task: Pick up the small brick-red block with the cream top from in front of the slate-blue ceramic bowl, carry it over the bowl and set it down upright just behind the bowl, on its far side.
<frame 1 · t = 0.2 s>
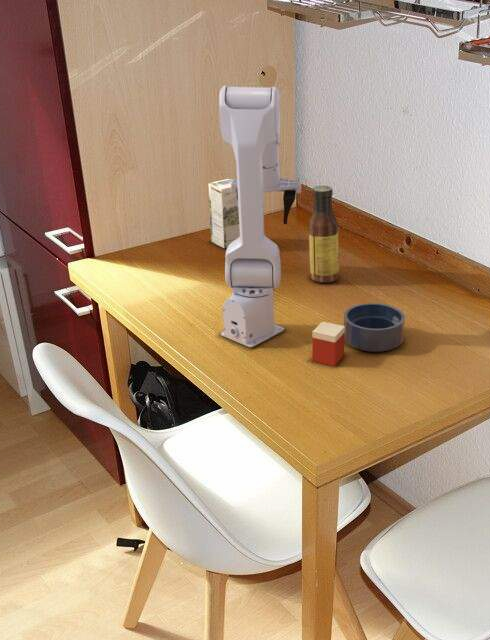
hand: (267, 221, 179), 11 cm above the table, tool pointing down, fingers open, 7 cm apart
sauce bottle: (323, 279, 180), on the table
red block: (328, 358, 149), on the table
bowl: (373, 340, 156), on the table
syrup box: (227, 244, 196), on the table
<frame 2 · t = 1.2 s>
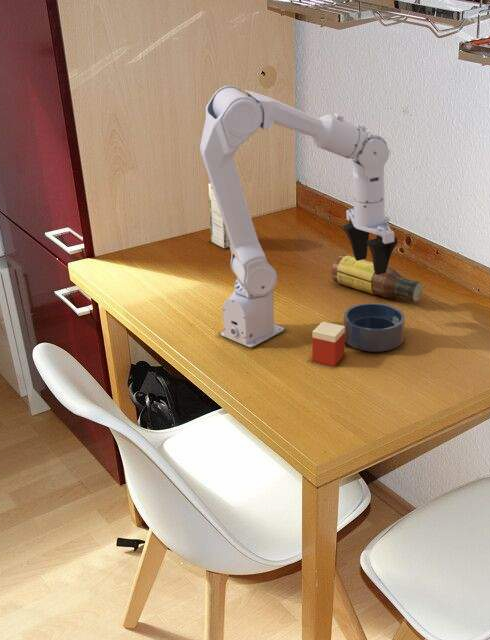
hand: (370, 266, 160), 10 cm above the table, tool pointing down, fingers open, 7 cm apart
sauce bottle: (337, 266, 177), point 3 cm above the table
everything else where it was.
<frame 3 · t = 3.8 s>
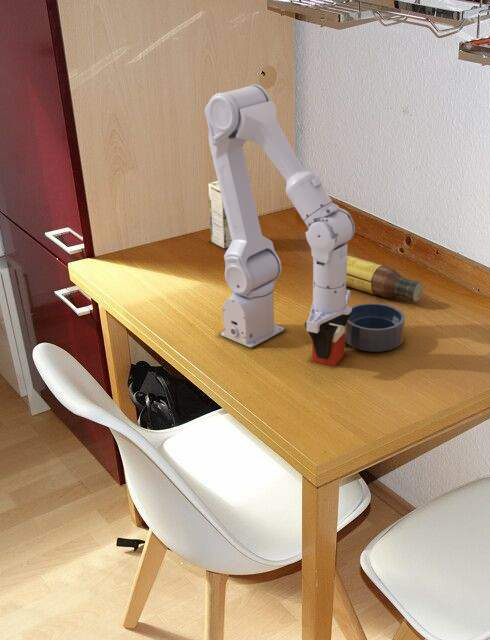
hand: (328, 351, 149), 1 cm above the table, tool pointing down, fingers closed on red block, 4 cm apart
red block: (328, 358, 150), on the table, touching gripper
everything else where it was.
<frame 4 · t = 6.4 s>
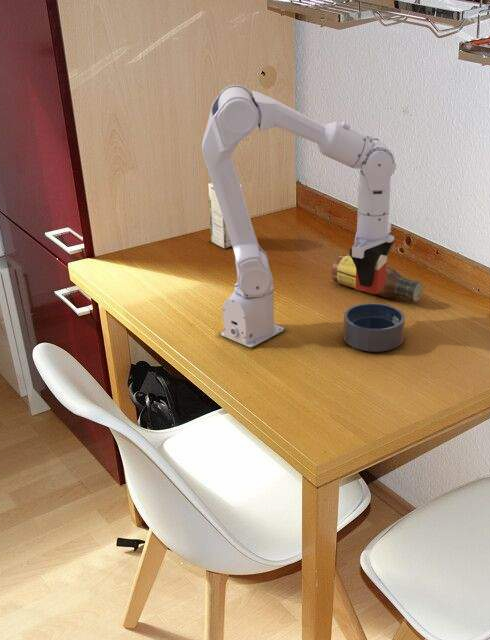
hand: (370, 280, 156), 9 cm above the table, tool pointing down, fingers closed on red block, 4 cm apart
red block: (370, 287, 156), point 8 cm above the table, touching gripper
everything else where it was.
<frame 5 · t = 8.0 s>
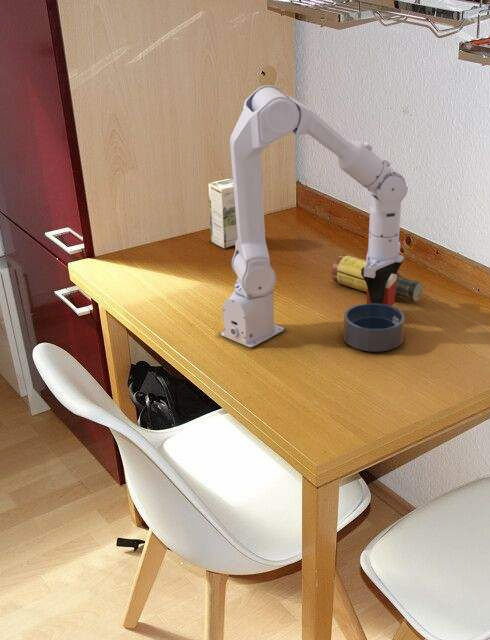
hand: (380, 298, 162), 4 cm above the table, tool pointing down, fingers closed on red block, 4 cm apart
red block: (380, 304, 163), point 2 cm above the table, touching gripper
everything else where it was.
when the fingers open (1 cm above the table, at t = 9.2 s): red block stays where it is, on the table.
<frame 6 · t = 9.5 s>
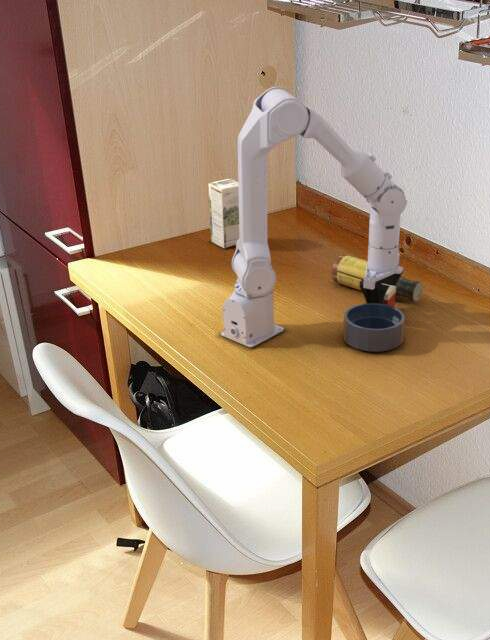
hand: (380, 308, 164), 2 cm above the table, tool pointing down, fingers open, 6 cm apart
red block: (380, 316, 164), on the table
everything else where it was.
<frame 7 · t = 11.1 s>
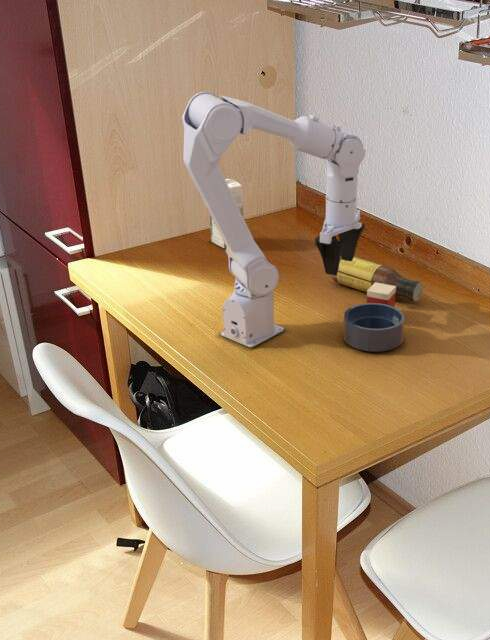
hand: (339, 266, 159), 10 cm above the table, tool pointing down, fingers open, 7 cm apart
nothing on the table moved.
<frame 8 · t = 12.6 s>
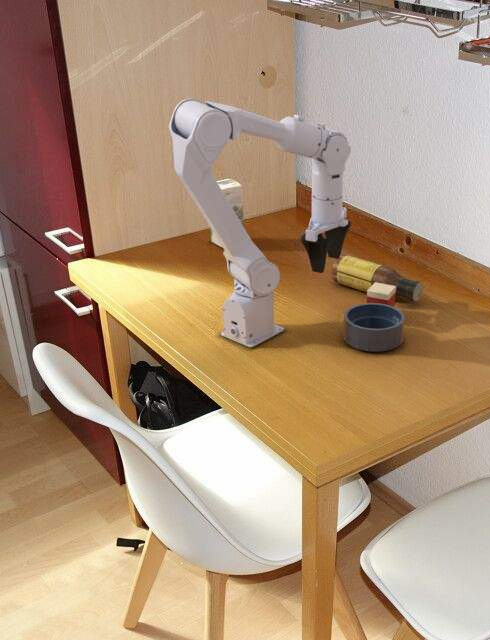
hand: (326, 264, 160), 10 cm above the table, tool pointing down, fingers open, 7 cm apart
nothing on the table moved.
at the end: red block inside the target area on the table beside the bowl (0.4 cm from its centre), on the table; red block tilted 0°; the gripper is holding nothing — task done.
